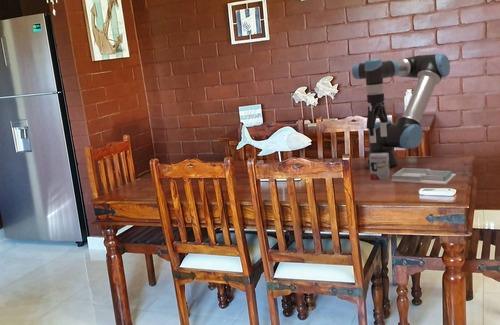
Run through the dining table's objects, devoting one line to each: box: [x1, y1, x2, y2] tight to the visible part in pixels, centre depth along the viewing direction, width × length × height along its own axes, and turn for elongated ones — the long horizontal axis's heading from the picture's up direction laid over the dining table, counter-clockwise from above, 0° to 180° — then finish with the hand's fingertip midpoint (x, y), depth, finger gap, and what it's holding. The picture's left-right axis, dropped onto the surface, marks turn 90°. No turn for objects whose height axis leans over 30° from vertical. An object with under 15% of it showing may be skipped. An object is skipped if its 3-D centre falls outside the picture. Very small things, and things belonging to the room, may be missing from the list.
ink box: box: [368, 153, 391, 181], centre depth 237 cm, size 9×5×12 cm, turn 68°
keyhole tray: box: [390, 167, 457, 186], centre depth 229 cm, size 16×24×3 cm, turn 53°
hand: (378, 139), depth 234 cm, fingers open, 13 cm apart
